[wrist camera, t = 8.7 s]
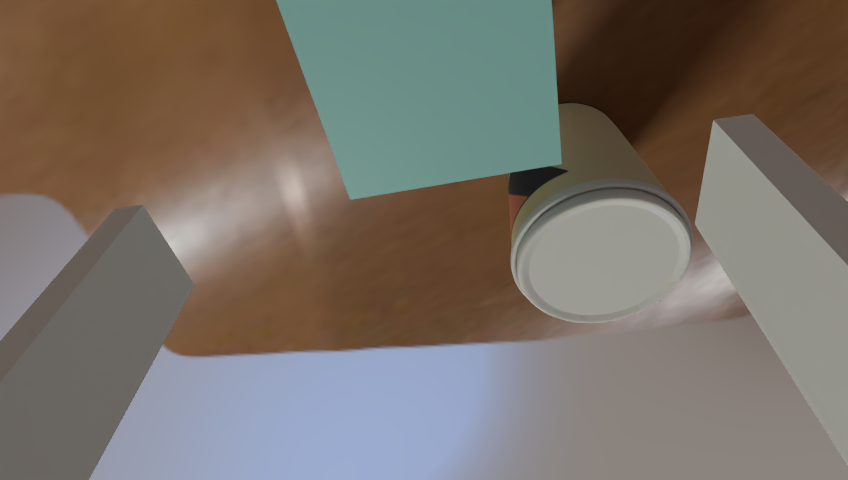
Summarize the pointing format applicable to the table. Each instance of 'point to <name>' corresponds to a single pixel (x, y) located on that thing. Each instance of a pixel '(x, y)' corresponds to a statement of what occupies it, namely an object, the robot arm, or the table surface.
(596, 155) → the coffee cup
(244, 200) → the table surface
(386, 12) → the teal block
